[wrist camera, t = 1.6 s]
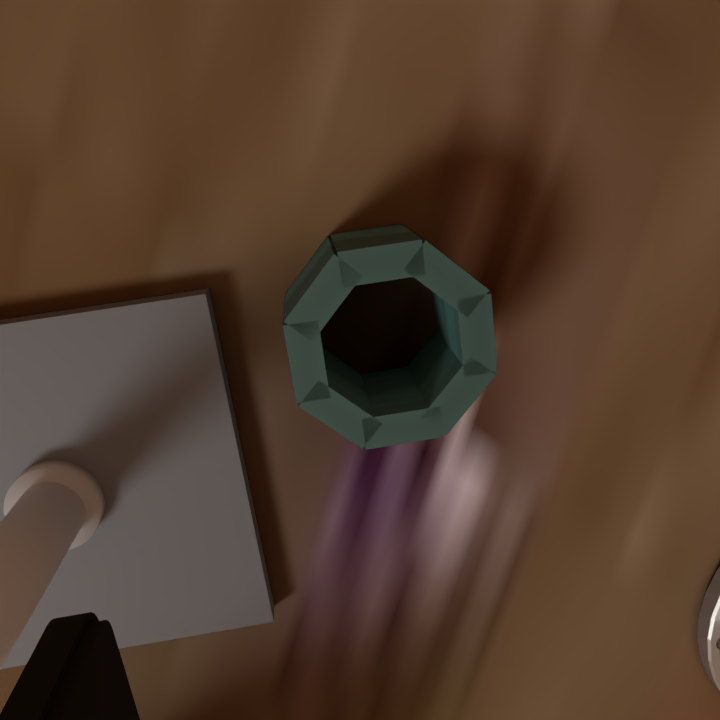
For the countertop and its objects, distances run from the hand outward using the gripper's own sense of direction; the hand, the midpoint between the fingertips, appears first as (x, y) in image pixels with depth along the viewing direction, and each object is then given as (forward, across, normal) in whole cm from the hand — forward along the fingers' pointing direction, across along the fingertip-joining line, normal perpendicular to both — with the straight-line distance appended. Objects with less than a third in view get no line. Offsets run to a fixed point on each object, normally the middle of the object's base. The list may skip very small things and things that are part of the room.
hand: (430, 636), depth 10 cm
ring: (+17, -1, -1) cm, 17 cm away
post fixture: (+17, +12, +4) cm, 21 cm away
